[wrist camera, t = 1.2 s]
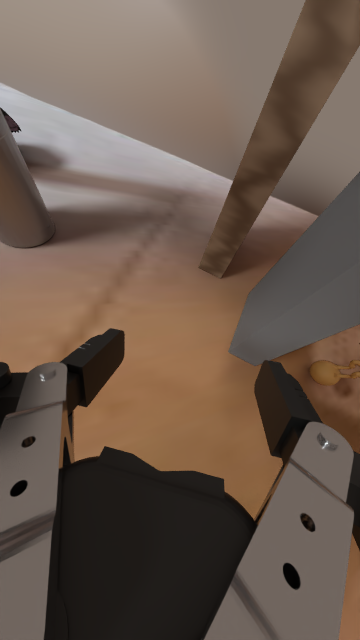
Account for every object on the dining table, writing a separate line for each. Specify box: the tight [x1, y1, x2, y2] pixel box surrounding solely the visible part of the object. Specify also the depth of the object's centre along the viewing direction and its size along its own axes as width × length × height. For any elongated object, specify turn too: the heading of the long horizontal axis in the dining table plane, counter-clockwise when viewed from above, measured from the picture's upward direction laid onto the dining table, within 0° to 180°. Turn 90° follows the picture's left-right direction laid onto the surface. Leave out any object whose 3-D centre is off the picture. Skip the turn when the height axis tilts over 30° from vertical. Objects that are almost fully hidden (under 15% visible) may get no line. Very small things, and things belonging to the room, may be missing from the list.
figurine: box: [310, 343, 360, 386], centre depth 27 cm, size 8×6×12 cm
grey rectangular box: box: [228, 172, 360, 366], centre depth 24 cm, size 5×14×24 cm, turn 154°
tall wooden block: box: [199, 0, 360, 279], centre depth 27 cm, size 5×14×32 cm, turn 154°
